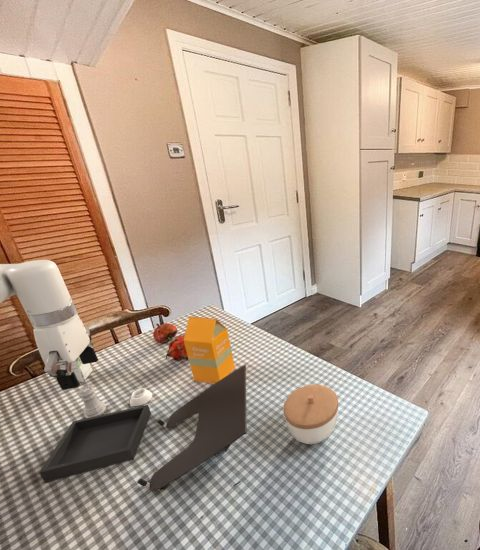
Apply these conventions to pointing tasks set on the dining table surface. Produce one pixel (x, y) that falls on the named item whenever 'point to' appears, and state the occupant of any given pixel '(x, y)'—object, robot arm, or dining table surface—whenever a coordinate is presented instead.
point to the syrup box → (79, 369)
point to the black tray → (97, 443)
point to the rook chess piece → (91, 402)
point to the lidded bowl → (311, 413)
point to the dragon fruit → (177, 349)
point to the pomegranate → (164, 332)
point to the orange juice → (208, 349)
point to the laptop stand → (206, 427)
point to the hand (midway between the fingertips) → (81, 374)
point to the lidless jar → (140, 397)
